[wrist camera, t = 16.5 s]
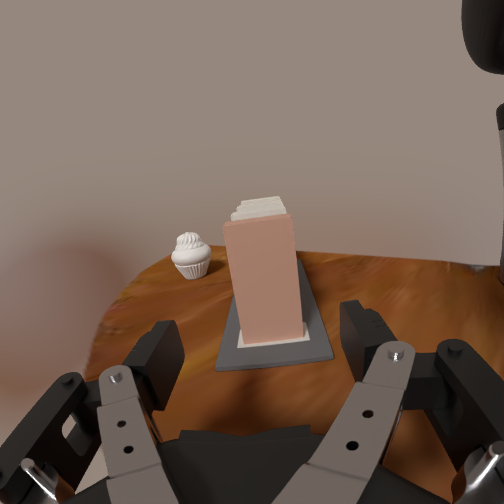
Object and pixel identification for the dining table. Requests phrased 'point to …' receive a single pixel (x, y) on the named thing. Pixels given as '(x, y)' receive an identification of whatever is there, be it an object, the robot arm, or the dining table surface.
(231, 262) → the terracotta domino
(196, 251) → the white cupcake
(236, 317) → the domino mat
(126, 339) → the dining table surface
